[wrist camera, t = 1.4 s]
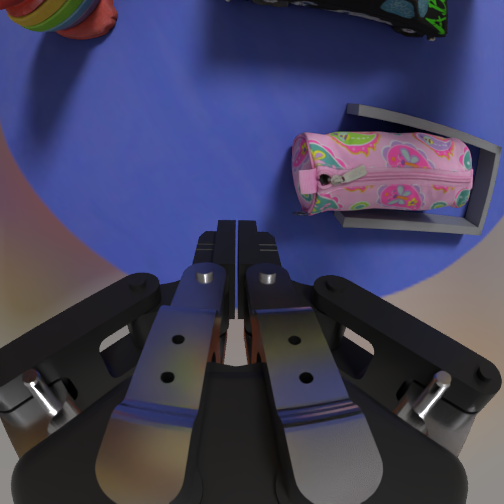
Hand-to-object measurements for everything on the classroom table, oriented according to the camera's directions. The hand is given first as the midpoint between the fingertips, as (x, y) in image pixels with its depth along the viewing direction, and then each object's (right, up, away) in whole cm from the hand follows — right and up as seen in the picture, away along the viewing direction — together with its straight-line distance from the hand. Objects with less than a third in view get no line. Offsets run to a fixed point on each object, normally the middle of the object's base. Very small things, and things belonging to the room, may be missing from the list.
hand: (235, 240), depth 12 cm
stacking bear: (-19, +29, +7) cm, 35 cm away
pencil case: (+15, +10, +19) cm, 27 cm away
